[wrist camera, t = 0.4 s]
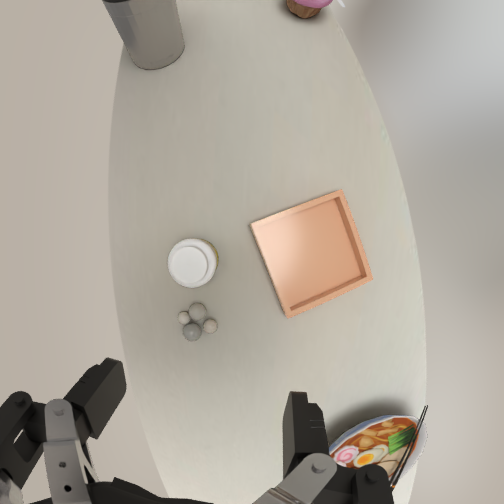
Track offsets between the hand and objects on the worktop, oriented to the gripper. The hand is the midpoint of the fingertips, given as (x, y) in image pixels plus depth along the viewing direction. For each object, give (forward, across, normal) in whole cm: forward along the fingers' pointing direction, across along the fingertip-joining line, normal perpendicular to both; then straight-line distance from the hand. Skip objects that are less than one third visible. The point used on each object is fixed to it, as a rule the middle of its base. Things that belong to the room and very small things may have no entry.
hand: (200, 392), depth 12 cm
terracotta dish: (+30, -9, 0) cm, 31 cm away
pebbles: (+26, +6, +11) cm, 28 cm away
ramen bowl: (+24, -26, +35) cm, 49 cm away
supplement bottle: (+28, +7, +2) cm, 29 cm away
